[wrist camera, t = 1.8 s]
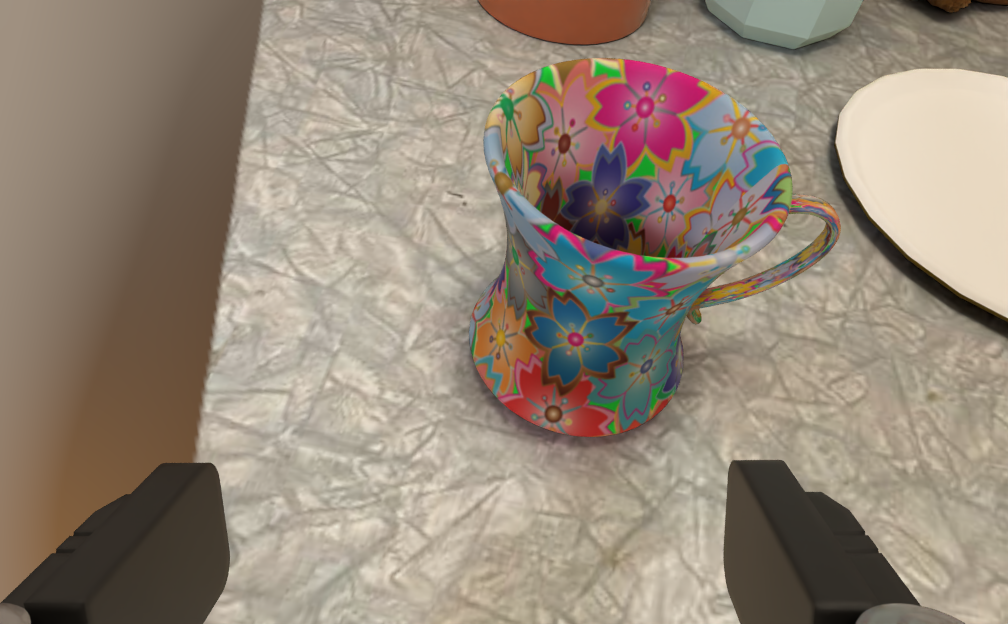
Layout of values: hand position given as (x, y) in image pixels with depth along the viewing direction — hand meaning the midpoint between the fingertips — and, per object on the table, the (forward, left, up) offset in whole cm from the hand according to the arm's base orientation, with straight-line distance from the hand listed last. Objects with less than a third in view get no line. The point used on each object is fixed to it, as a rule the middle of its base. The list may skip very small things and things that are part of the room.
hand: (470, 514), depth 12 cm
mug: (+10, +10, -14) cm, 20 cm away
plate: (+36, +13, -14) cm, 41 cm away
